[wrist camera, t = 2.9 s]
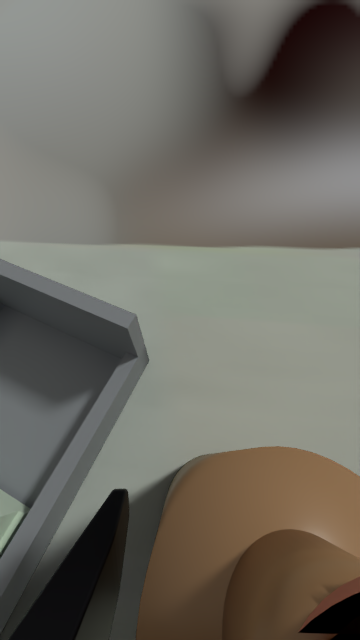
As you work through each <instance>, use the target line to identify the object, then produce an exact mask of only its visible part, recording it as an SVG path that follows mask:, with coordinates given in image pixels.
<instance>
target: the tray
mask: <svg viewBox="0 0 360 640" xmlns="http://www.w3.org/2000/svg"><path fill="white" fill-rule="evenodd" d="M29 511H30V508H29V507H27V506H25V505H24V504H22V503H21V502H19V501H18V500H16V499H15V498H13V497H12V496H10V495H9V494H7V493H6V492H4V491H3V490H1V489H0V559H1V557H2V555H3V554H4V552H5V550H6V549H7V547H8V545H9V544H10V542H11V541H12V539H13V537H14V536H15V534H16V532H17V531H18V529H19V527H20V526H21V524H22V522H23V521H24V519H25V517H26V516H27V514H28V513H29Z"/></svg>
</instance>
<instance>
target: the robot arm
mask: <svg viewBox="0 0 360 640" xmlns="http://www.w3.org/2000/svg"><path fill="white" fill-rule="evenodd" d="M128 521H129V500H128V491H127V489H114V490H113V491H112V492H111V493H110V495H109V496H108V498H107V499H106V501H105V502H104V503H103V505H102V506H101V508H100V509H99V510H98V512H97V513H96V515H95V516H94V518H93V519H92V520H91V522H90V523H89V525H88V526H87V528H86V529H85V530H84V532H83V533H82V535H81V536H80V538H79V539H78V540H77V542H76V543H75V545H74V546H73V548H72V549H71V550H70V552H69V553H68V555H67V556H66V558H65V559H64V560H63V562H62V563H61V565H60V566H59V567H58V569H57V570H56V572H55V573H54V575H53V576H52V577H51V579H50V580H49V582H48V583H47V585H46V586H45V587H44V589H43V590H42V592H41V593H40V595H39V596H38V597H37V599H36V600H35V602H34V603H33V605H32V606H31V607H30V609H29V610H28V612H27V613H26V615H25V616H24V617H23V619H22V620H21V622H20V623H19V624H18V626H17V627H16V629H15V630H14V632H13V633H12V634H11V636H10V637H9V639H8V640H109V637H110V633H111V628H112V623H113V619H114V614H115V609H116V605H117V600H118V594H119V589H120V582H121V576H122V568H123V560H124V552H125V544H126V536H127V528H128Z"/></svg>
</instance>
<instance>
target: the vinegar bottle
mask: <svg viewBox="0 0 360 640" xmlns="http://www.w3.org/2000/svg"><path fill="white" fill-rule="evenodd" d="M136 640H360V477H359V476H358V475H356V474H355V473H353V472H352V471H350V470H349V469H347V468H345V467H344V466H342V465H340V464H338V463H336V462H334V461H332V460H330V459H328V458H325V457H323V456H320V455H318V454H315V453H312V452H308V451H305V450H301V449H297V448H289V447H279V446H277V447H259V448H251V449H244V450H237V451H229V452H222V453H214V454H207V455H202V456H199V457H196V458H194V459H192V460H190V461H189V462H188V463H186V464H185V465H184V466H183V467H182V468H181V469H180V470H179V471H178V473H177V474H176V475H175V477H174V479H173V480H172V483H171V485H170V487H169V490H168V493H167V497H166V500H165V504H164V508H163V512H162V516H161V519H160V523H159V527H158V531H157V535H156V538H155V542H154V546H153V550H152V553H151V557H150V561H149V565H148V569H147V572H146V577H145V582H144V586H143V591H142V595H141V600H140V607H139V615H138V623H137V631H136Z"/></svg>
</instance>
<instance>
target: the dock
mask: <svg viewBox="0 0 360 640" xmlns="http://www.w3.org/2000/svg"><path fill="white" fill-rule="evenodd" d="M148 362H149V358H148V355H147V351H146V347H145V344H144V340H143V337H142V333H141V330H140V326H139V322H138V319H137V315H136V314H134V313H131V312H129V311H126V310H124V309H121V308H119V307H117V306H114V305H112V304H109V303H107V302H104V301H102V300H99V299H97V298H95V297H92V296H90V295H87V294H85V293H82V292H80V291H77V290H75V289H73V288H70V287H68V286H65V285H63V284H60V283H58V282H55V281H53V280H51V279H48V278H46V277H43V276H41V275H38V274H36V273H33V272H31V271H29V270H26V269H24V268H21V267H19V266H16V265H14V264H11V263H9V262H7V261H4V260H2V259H0V489H1V490H3V491H4V492H6V493H7V494H9V495H10V496H12V497H13V498H15V499H16V500H18V501H19V502H21V503H22V504H24V505H25V506H27V507H29V508H30V511H29V513H28V514H27V516H26V517H25V519H24V521H23V522H22V524H21V526H20V527H19V529H18V531H17V532H16V534H15V536H14V537H13V539H12V541H11V542H10V544H9V545H8V547H7V549H6V550H5V552H4V554H3V555H2V557H1V559H0V633H1V632H2V630H3V628H4V626H5V624H6V622H7V621H8V619H9V617H10V615H11V613H12V611H13V610H14V608H15V606H16V604H17V602H18V600H19V599H20V597H21V595H22V593H23V591H24V589H25V588H26V586H27V584H28V582H29V580H30V578H31V577H32V575H33V573H34V571H35V569H36V567H37V566H38V564H39V562H40V560H41V558H42V556H43V555H44V553H45V551H46V549H47V547H48V545H49V544H50V542H51V540H52V538H53V536H54V534H55V533H56V531H57V529H58V527H59V525H60V523H61V522H62V520H63V518H64V516H65V514H66V512H67V510H68V509H69V507H70V505H71V503H72V501H73V499H74V498H75V496H76V494H77V492H78V490H79V488H80V487H81V485H82V483H83V481H84V479H85V477H86V476H87V474H88V472H89V470H90V468H91V466H92V465H93V463H94V461H95V459H96V457H97V455H98V454H99V452H100V450H101V448H102V446H103V444H104V443H105V441H106V439H107V437H108V435H109V433H110V432H111V430H112V428H113V426H114V424H115V422H116V421H117V419H118V417H119V415H120V413H121V411H122V410H123V408H124V406H125V404H126V402H127V400H128V399H129V397H130V395H131V393H132V391H133V389H134V387H135V386H136V384H137V382H138V380H139V378H140V376H141V375H142V373H143V371H144V369H145V367H146V365H147V364H148Z"/></svg>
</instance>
